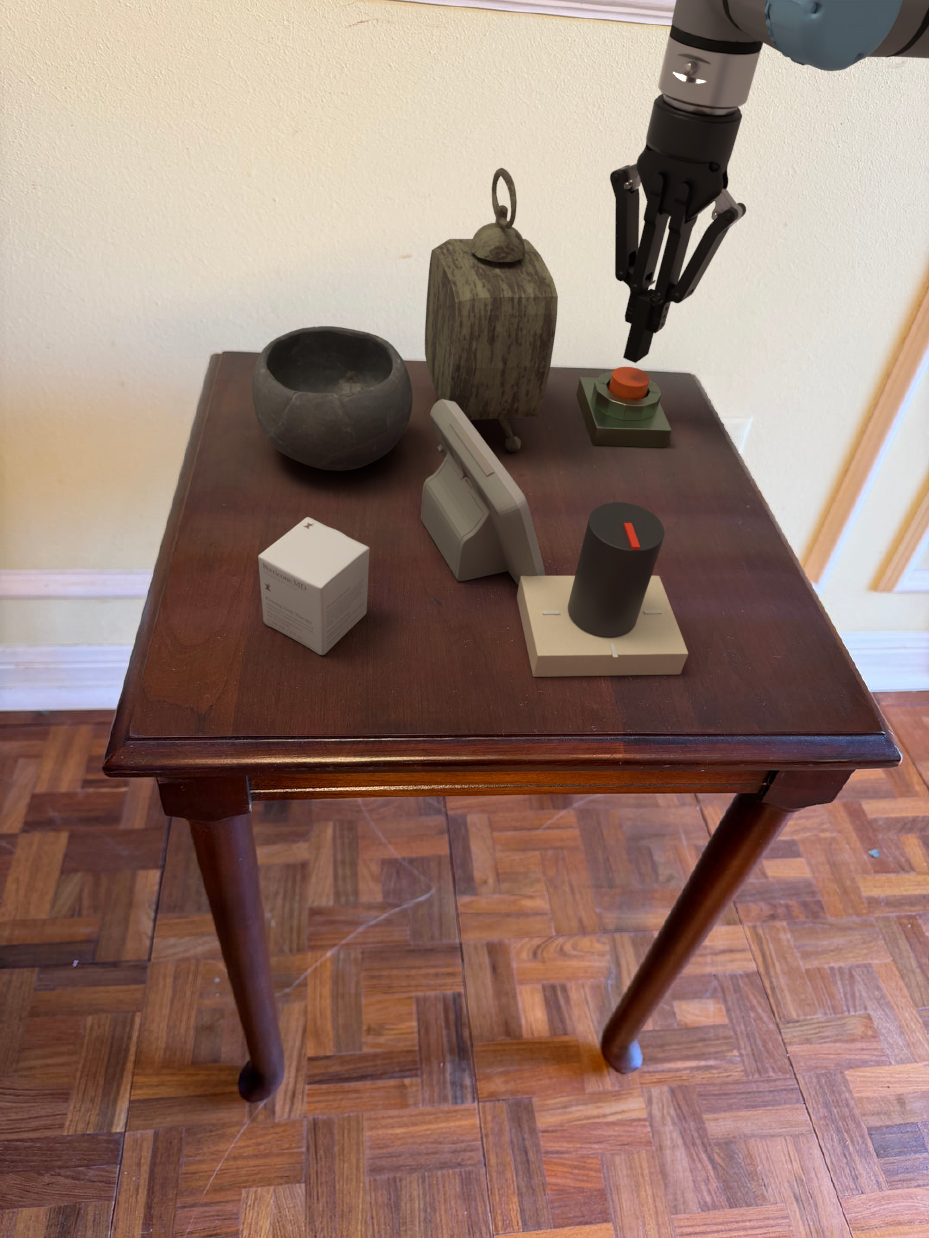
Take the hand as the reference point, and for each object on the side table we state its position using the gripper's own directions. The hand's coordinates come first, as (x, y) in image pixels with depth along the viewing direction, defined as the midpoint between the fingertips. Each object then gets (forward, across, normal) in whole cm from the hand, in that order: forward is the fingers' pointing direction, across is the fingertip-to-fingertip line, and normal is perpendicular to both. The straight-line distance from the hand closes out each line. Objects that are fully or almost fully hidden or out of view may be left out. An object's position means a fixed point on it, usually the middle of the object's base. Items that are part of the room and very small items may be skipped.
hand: (635, 355), depth 92 cm
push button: (+4, 0, 0) cm, 4 cm away
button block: (+8, 0, 0) cm, 8 cm away
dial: (+5, +15, -30) cm, 34 cm away
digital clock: (+8, +1, -27) cm, 28 cm away
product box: (+8, -3, -44) cm, 45 cm away
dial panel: (+8, +15, -30) cm, 35 cm away
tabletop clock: (+8, -11, -12) cm, 18 cm away
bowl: (+8, -18, -26) cm, 32 cm away
